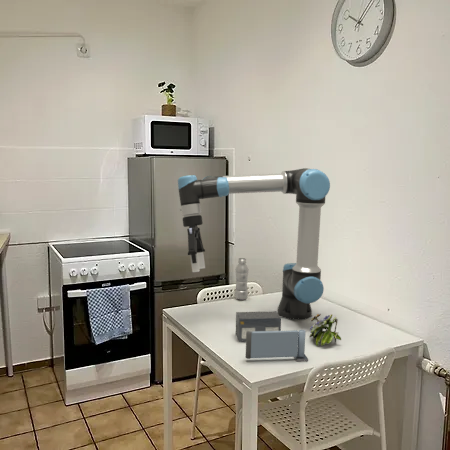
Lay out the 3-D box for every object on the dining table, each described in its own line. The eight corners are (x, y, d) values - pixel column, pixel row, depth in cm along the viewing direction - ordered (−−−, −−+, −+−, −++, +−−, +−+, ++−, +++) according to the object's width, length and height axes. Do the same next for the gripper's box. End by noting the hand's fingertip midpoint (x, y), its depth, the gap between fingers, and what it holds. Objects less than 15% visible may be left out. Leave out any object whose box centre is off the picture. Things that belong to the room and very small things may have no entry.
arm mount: (304, 356, 173) (304, 354, 173) (307, 361, 170) (308, 358, 169) (293, 356, 173) (293, 354, 173) (296, 361, 169) (296, 359, 169)
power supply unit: (275, 333, 195) (276, 311, 194) (280, 341, 187) (281, 318, 186) (235, 334, 193) (236, 312, 192) (239, 342, 185) (239, 319, 183)
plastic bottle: (238, 301, 235) (239, 260, 232) (232, 298, 241) (233, 258, 238) (250, 300, 238) (251, 259, 235) (243, 296, 244) (244, 257, 241)
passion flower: (314, 353, 192) (316, 320, 198) (345, 354, 186) (346, 319, 192) (303, 344, 182) (305, 309, 188) (336, 344, 176) (337, 308, 182)
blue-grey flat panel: (303, 354, 172) (304, 329, 171) (305, 357, 170) (306, 332, 169) (244, 356, 170) (245, 331, 168) (246, 359, 167) (247, 333, 166)
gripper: (188, 217, 203) (195, 268, 203) (175, 216, 179) (183, 274, 178) (206, 215, 202) (213, 266, 202) (195, 213, 178) (203, 272, 177)
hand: (199, 270), depth 190 cm, fingers open, 13 cm apart
